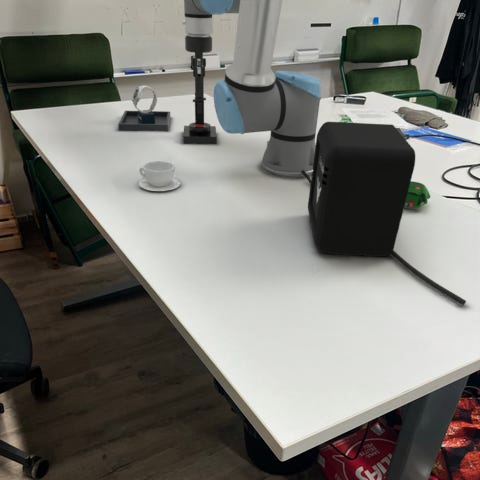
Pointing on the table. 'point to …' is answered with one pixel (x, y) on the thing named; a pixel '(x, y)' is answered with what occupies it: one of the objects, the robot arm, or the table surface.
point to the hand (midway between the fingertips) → (199, 124)
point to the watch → (144, 115)
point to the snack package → (416, 195)
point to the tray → (132, 124)
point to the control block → (199, 134)
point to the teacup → (158, 176)
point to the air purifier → (359, 187)
